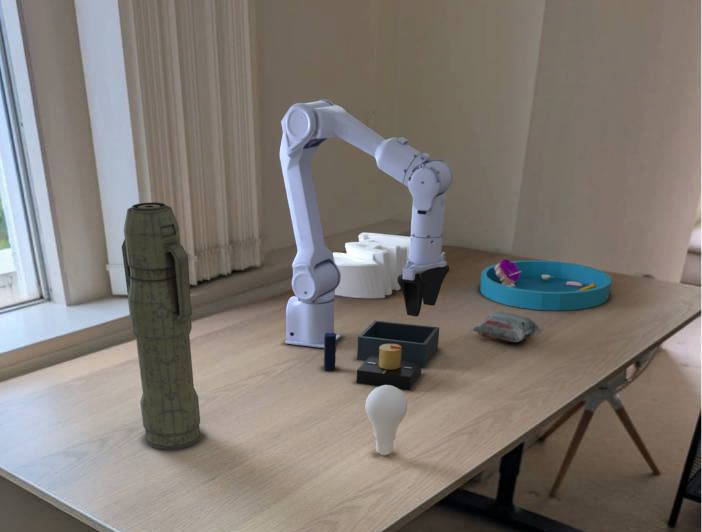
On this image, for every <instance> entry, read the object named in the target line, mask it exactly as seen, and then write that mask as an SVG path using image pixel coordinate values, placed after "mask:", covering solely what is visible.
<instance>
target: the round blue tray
mask: <svg viewBox="0 0 702 532" xmlns="http://www.w3.org/2000/svg"><path fill="white" fill-rule="evenodd" d="M612 282H613V281H612V277H611V276H610V274H607V273H606V272H605V271H603V270H600V269H597V268H594V267H592V266H587V265H583V264H580V263H579V264H578V263H572V262H566V261H556V260H537V259H536V260H535V259H534V260H531V259H530V260H514V261H511V260H509V259H507V258H503V259H502V260H501V261H500V262H499V263H495V264H492V265H489V266H487V267H485V268H484V269H483V270H481V275H480V286H479V290H480V293H481V294H482V295H483V296H484V297H485V298H487V299H489V300H491V301H493V302H496V303H500V304H502V305H506V306H510V307H516V308H520V309H521V308H522V309H528V310H537V311H538V310H540V311H576V310H583V309H589V308H593V307H596V306H600V305H602V304H604V303H605V302H607V301H608V299H609V296H610V292H611V286H612Z"/></svg>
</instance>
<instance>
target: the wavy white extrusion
mask: <svg viewBox="0 0 702 532" xmlns="http://www.w3.org/2000/svg"><path fill="white" fill-rule="evenodd" d="M344 247H345V251H346V253H345V252H336V251H335V252H332V253H333V258H334V261H335V263H336V265H337V266H338V268H339V270H340V274H341V281H340V284H339V286H338V287H337V288H336V289H335V295H334V296H338V297H345V298H354V299H385V298H386V296H391V295H392V294H393V291H400V290H401V288H400V286H399V284H398V282H397V278H398V276H400V275H401V274H403V268H404V267H406V264H407V261H408V259H409V253H410V236H408V235H407V236H406V235H397V234H396V235H395V234H385V233H376V232H361V233H360V234H358V241H349V242H345V243H344Z"/></svg>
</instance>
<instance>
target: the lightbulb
mask: <svg viewBox="0 0 702 532" xmlns="http://www.w3.org/2000/svg"><path fill="white" fill-rule="evenodd" d="M407 411H408V400H407V397H406V395H405V393H404V392H403V391H402V389H398V388H396V387H394V386H391V385H383V386H376V387H375V388H374V389H372V391H371V392H369V394H368V395H367V398H366V400H365V412H366V415H367V417H368V420H369V421H370V423H371V426H372V428H373V436H374V440H375V451H376V453H377V454H380V455H381V456H387V455H389V454H391V453H392V452H393V450H394V449H393V448H394V441H395V440H396V435H397V431H398V428H399V426H400V424H401V423H402V421H403V419H405V416H406V414H407Z"/></svg>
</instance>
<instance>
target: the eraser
mask: <svg viewBox="0 0 702 532" xmlns="http://www.w3.org/2000/svg"><path fill="white" fill-rule="evenodd" d="M336 334H337V333H335V332H334V333H325V335H324V348H323V369H324V371H325V372H334V371H335V370H336V351H337V350H336V349H337V348H336V347H337V341H336Z"/></svg>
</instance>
